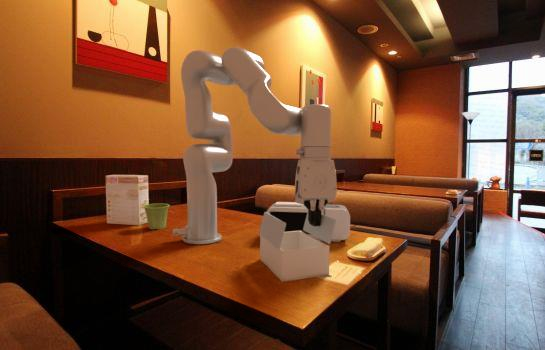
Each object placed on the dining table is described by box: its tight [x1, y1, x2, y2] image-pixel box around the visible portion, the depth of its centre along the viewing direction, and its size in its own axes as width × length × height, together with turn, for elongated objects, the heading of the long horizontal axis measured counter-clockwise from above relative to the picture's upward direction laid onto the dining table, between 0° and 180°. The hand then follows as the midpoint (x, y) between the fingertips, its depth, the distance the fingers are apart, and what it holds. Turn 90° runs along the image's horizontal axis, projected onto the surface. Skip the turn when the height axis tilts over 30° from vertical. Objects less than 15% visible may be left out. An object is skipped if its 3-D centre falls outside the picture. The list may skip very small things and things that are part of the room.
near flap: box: [258, 211, 286, 249], centre depth 79 cm, size 6×14×1 cm
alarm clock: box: [265, 201, 351, 243], centre depth 109 cm, size 27×9×12 cm, turn 82°
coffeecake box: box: [105, 174, 150, 226], centre depth 129 cm, size 15×7×20 cm, turn 77°
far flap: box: [303, 212, 336, 245], centre depth 83 cm, size 6×14×1 cm
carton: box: [259, 231, 330, 283], centre depth 81 cm, size 12×16×7 cm
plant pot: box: [143, 203, 171, 230], centre depth 121 cm, size 9×9×9 cm
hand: (314, 225), depth 83 cm, fingers closed
